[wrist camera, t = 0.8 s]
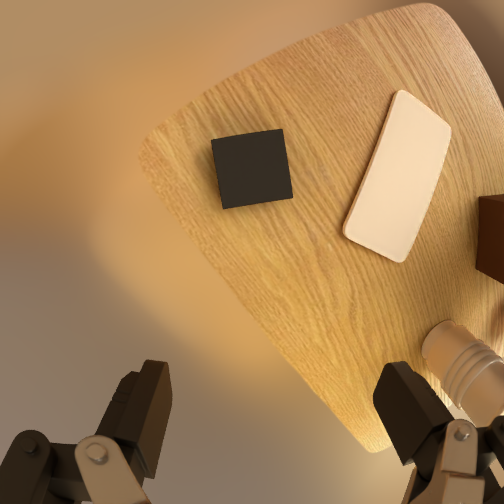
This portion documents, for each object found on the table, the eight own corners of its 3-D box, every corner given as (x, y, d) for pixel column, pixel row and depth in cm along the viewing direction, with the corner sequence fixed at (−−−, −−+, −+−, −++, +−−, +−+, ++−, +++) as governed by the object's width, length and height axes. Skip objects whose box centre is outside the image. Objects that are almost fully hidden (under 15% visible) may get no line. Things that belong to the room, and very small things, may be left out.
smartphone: (453, 128, 20) (403, 265, 23) (449, 129, 21) (399, 263, 24) (399, 85, 19) (340, 235, 22) (395, 87, 20) (337, 233, 23)
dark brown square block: (214, 144, 21) (210, 139, 18) (277, 134, 21) (282, 128, 18) (225, 204, 22) (223, 209, 19) (286, 194, 22) (293, 198, 19)
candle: (408, 355, 28) (473, 442, 13) (444, 308, 26) (526, 380, 12) (434, 369, 29) (491, 442, 14) (466, 327, 27) (535, 391, 13)
